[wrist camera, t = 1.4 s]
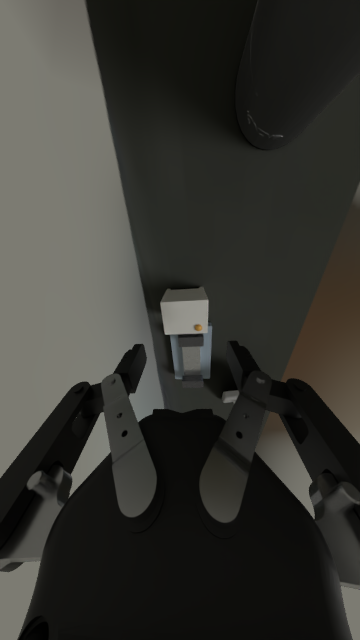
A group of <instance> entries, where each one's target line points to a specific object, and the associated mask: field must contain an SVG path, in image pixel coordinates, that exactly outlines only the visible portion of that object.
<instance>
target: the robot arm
mask: <svg viewBox="0 0 360 640" xmlns="http://www.w3.org/2000/svg"><path fill="white" fill-rule="evenodd" d="M359 73H360V0H258V2H257V5H256V9H255V12H254V16H253V19H252V23H251V26H250V30H249V33H248V37H247V40H246V44H245V47H244V51H243V54H242V58H241V62H240V66H239V70H238V74H237V80H236V89H235V108H236V114H237V120H238V123H239V126H240V128H241V131H242V133H243V134H244V136H245V137H246V139H247V140H248V141H249V142H250V143H251V144H252V145H254V146H256V147H258V148H260V149H267V150H270V149H276V148H279V147H281V146H284V145H286V144H288V143H289V142H290V141H292V140H293V139H295V138H296V137H297V136H298V135H299V134H300V133H301V132H302V131H303V130H304V129H305V128H306V127H307V126H308V125H309V124H310V123H311V122H312V121H313V120H314V119H315V118H316V117H317V116H318V115H319V114H320V113H321V112H322V111H323V110H324V109H325V108H326V107H327V106H328V105H329V104H330V103H331V102H332V101H333V100H334V99H335V98H336V97H337V96H338V95H339V94H340V93H341V92H342V91H343V90H344V89H345V88H346V86H347V85H348V84H349V83H350V82H351V81H352V80H353V79H354V78H355V77H356V76H357V75H358V74H359ZM226 358H227V362H228V364H229V367H230V370H231V372H232V375H233V378H234V380H235V383H236V386H237V389H238V391H239V395H238V397H237V399H236V402H235V404H234V406H233V408H232V410H231V412H230V414H229V417H228V419H227V421H226V420H224V419H223V418H221V417H219V416H217V415H214V414H213V412H212V409H196V410H192V411H189V412H185V413H179V412H176V411H172V410H169V409H154V410H153V414H152V415H149V416H147V417H145V418H143V419H142V420H141V421H139V422H137V419H136V416H135V413H134V411H133V408H132V406H131V403H130V400H129V395H130V393H135V392H136V389H137V386H138V383H139V381H140V378H141V375H142V372H143V370H144V367H145V364H146V359H147V357H146V353H145V348H144V345H143V344H135V345H134V346H133V348H132V350H128V352H126V353H125V355H124V356H123V358H122V359H121V362H120V363H119V364H118V366H117V368H116V369H115V371H114V373H113V374H111V375H109V376H107V377H106V378H104V379H103V381H102V382H101V383H98V384H95V385H91V386H90V384H89V383H88V382H80V383H78V384H76V385H75V386H73V387H72V388H71V389H70V390H69V391H68V393H67V394H66V395H65V396H64V398H63V399H62V400H61V402H60V403H59V404H58V405H57V407H56V408H55V409H54V411H53V412H52V413H51V414H50V416H49V417H48V418H47V419H46V421H45V422H44V423H43V424H42V426H41V427H40V429H39V430H38V431H37V432H36V433H35V435H34V436H33V437H32V439H31V440H30V441H29V442H28V444H27V445H26V446H25V448H24V449H23V450H22V451H21V453H20V454H19V455H18V456H17V458H16V459H15V460H14V462H13V463H12V464H11V465H10V467H9V468H8V469H7V470H6V472H5V473H4V474H3V476H2V477H1V478H0V571H3V572H10V571H13V570H15V569H16V568H18V567H19V566H20V565H21V564H22V563H23V562H30V561H41V563H40V568H39V573H38V577H37V582H36V586H35V589H34V593H33V596H32V599H31V603H30V606H29V609H28V612H27V615H26V618H25V621H24V624H23V627H22V629H21V632H20V635H19V637H18V639H17V640H353V639H352V636H351V633H350V629H349V625H348V621H347V617H346V613H345V608H344V604H343V598H342V593H341V586H344V587H349V588H354V589H359V590H360V444H359V443H358V442H357V441H356V439H355V438H354V437H353V436H352V435H351V434H350V433H349V431H348V430H347V429H346V428H345V426H344V425H343V424H342V423H341V422H340V421H339V419H338V418H337V417H336V416H335V415H334V414H333V412H332V411H331V410H330V409H329V407H327V405H326V404H325V403H324V402H323V400H322V399H321V398H320V397H319V396H318V394H317V393H316V392H315V391H314V390H313V389H312V388H311V386H310V385H308V384H307V383H305V382H304V381H301V380H299V379H294V378H293V379H292V378H291V379H288V380H287V382H286V383H284V382H280V381H276V380H273V379H271V377H270V376H269V375H267V374H266V373H264V372H262V371H261V370H260V368H259V367H258V365H257V364H256V362H255V360H254V359H253V357H252V356H251V354H250V352H249V351H248V349H246V348H245V347H244V346H239V344H238V342H237V341H228V342H227V352H226ZM265 410H268V411H271V412H275V413H278V414H279V416H280V418H281V420H282V422H283V424H284V426H285V428H286V430H287V432H288V434H289V436H290V438H291V440H292V441H293V444H294V446H295V447H296V449H297V451H298V453H299V455H300V457H301V459H302V461H303V463H304V465H305V467H306V469H307V471H308V473H309V475H310V477H311V479H312V481H313V482H312V483H311V485H310V487H309V495H310V499H311V502H312V504H313V507H314V512H315V519H313V518H312V516H311V515H310V513H309V512H308V511H307V509H306V508H305V507H304V506H303V504H302V503H301V502H300V501H299V500H298V499H297V498H296V497H295V495H294V494H293V493H292V492H291V491H290V490H289V489H288V488H287V487H286V486H285V484H284V483H283V482H282V481H281V480H280V479H279V478H278V477H277V476H276V474H275V473H274V472H273V471H272V470H271V469H270V468H269V467H268V466H267V465H266V463H265V462H264V461H263V460H262V459H261V458H260V457H259V456H258V455H257V453H256V452H255V448H256V444H257V440H258V436H259V433H260V429H261V425H262V421H263V417H264V414H265ZM101 412H104V416H105V421H106V427H107V433H108V438H109V443H110V450H111V452H110V453H109V455H108V456H107V457H106V458H105V459H104V460H103V461H102V462H101V463H100V464H99V465H98V466H97V468H96V469H95V470H94V471H93V472H92V473H91V474H90V475H89V476H88V477H87V478H86V480H85V481H84V482H83V483H82V484H81V485H80V486H79V487H78V488H77V489H76V490H75V492H74V493H73V494H72V495H71V496H70V497H69V494H70V493H69V492H70V489H71V486H72V477H71V473H72V471H73V469H74V467H75V465H76V463H77V461H78V459H79V456H80V454H81V452H82V450H83V448H84V446H85V444H86V442H87V440H88V437H89V436H90V433H91V431H92V429H93V427H94V425H95V423H96V421H97V419H98V417H99V415H100V413H101ZM77 415H78V416H77ZM74 420H75V421H74ZM68 498H69V499H68Z"/></svg>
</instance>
